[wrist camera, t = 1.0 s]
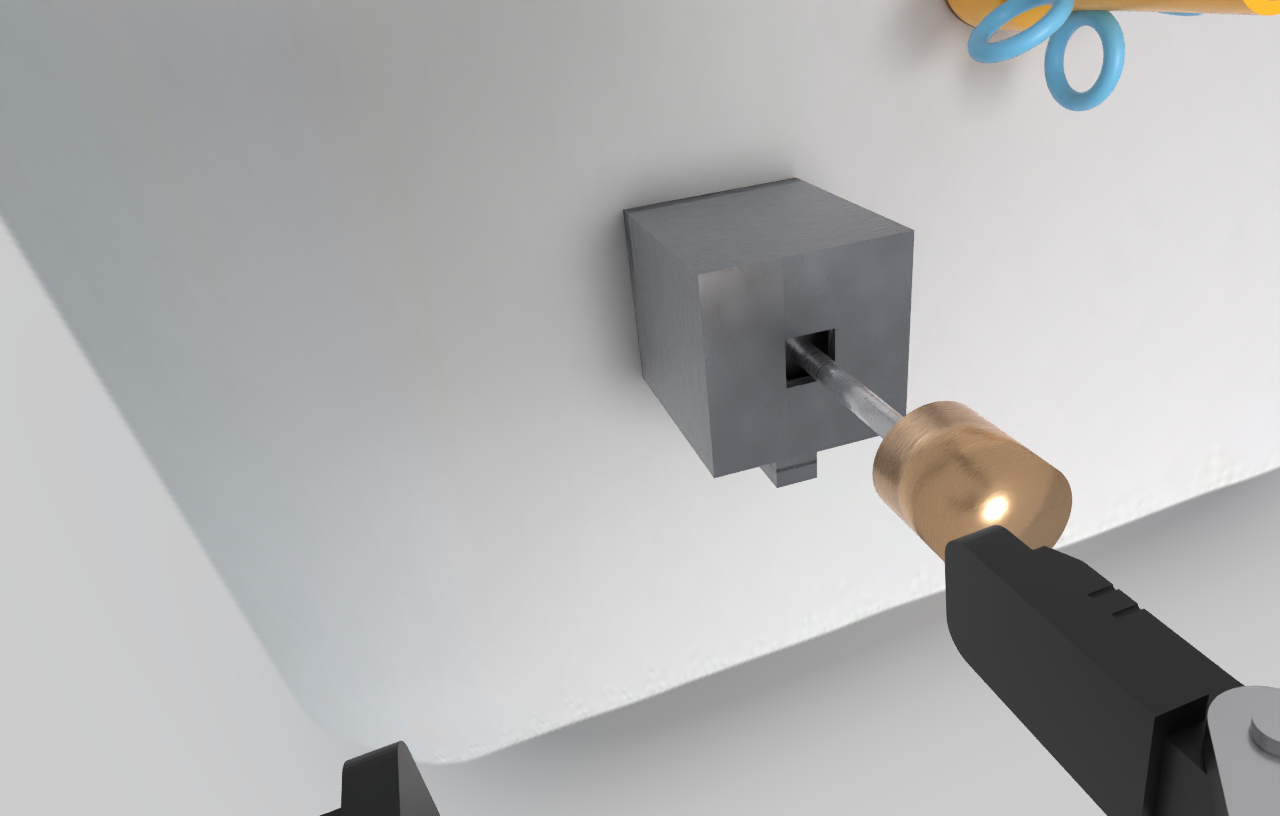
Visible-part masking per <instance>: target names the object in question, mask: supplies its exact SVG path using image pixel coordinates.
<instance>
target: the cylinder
mask: <svg viewBox="0 0 1280 816" xmlns="http://www.w3.org/2000/svg"><path fill="white" fill-rule="evenodd" d="M947 1H948V3H949V5H950V6H951V8H952V10H953V11H954V13H955V14H956V15H957V16H958V17H959V18H960V19H962V20H963V21H964V22H966V23H967V24H969V25H971V26H974V27H976V28H975V29H974V30H973V32H972V34H971V36H970V38H969V41H968V52H969V54H970V56H971V57H972V58H973V59H974V60H976V61H978V62H981V63H995V62H1000V61H1004V60H1008V59H1011V58H1013V57H1016V56H1018V55H1020V54H1023V53H1025V52H1027V51H1028V50H1030V49H1032V48H1034V47H1035V46H1037V45H1039V44H1040V43H1042V42H1043V41H1044V40H1046V39H1047V38H1048V37H1050V36H1051V37H1050V39H1049V42H1048V45H1047V49H1046V54H1045V64H1044V68H1045V78H1046V82H1047V85H1048V88H1049V91H1050V93H1051V94H1052V96H1053V98H1054V99H1055V100H1056V101H1057V102H1058V103H1059V104H1060V105H1061V106H1063V107H1064V108H1066V109H1069V110H1072V111H1085V110H1089V109H1092V108H1094V107H1096V106H1098V105H1099V104H1101V103H1102V102H1103V101H1104V100H1105V99H1106V98H1107V97H1108V96H1109V95H1110V94H1111V92H1112V91H1113V90H1114V88H1115V86H1116V84H1117V83H1118V80H1119V78H1120V75H1121V73H1122V69H1123V65H1124V58H1125V43H1124V37H1123V33H1122V30H1121V27H1120V25H1119V23H1118V22H1117V20H1116V19H1115V17H1114V16H1113V15H1112V14H1111V13H1110V12H1109V11H1144V12H1159V13H1164V14H1170V15H1179V16H1196V15H1201V14H1204V13H1211V14H1243V15H1276V14H1280V0H947ZM1084 25H1088V26H1091V27H1093V28H1094V29H1095V30H1096V31H1097V33H1098V34H1099V36H1100V38H1101V41H1102V45H1103V52H1104V58H1103V66H1102V70H1101V73H1100V75H1099V78H1098V80H1097V81H1096V83H1095V84H1094V85H1093V87H1092V88H1091V89H1089V90H1088V91H1086V92H1083V93H1080V92H1076V91H1075V90H1073V89H1072V88H1071V87H1070V85H1069V84H1068V82H1067V80H1066V77H1065V73H1064V66H1063V60H1064V52H1065V48H1066V45H1067V43H1068V40H1069V39H1070V37H1071V35H1072V34H1073V33H1074V31H1075V30H1076V29H1078V28H1079V27H1081V26H1084ZM997 30H1009V31H1023V32H1021V33H1019V34H1017V35H1015V36H1013V37H1011V38H1008V39H1006V40H1003V41H999V42H995V43H987V42H988V40H989V39H990V37H991V36H992V35H993V34H994V33H995V32H996V31H997Z"/></svg>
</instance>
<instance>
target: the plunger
mask: <svg viewBox="0 0 1280 816" xmlns="http://www.w3.org/2000/svg"><path fill="white" fill-rule="evenodd" d="M785 359H786V381H790V380H794V379H798V378H802V377H807V376H812V377H813V378H814V379H816V380H817V381H818V382H819V383H820V384H821V385H822V386H824V387H825V388H826V389H827V390H828V391H829V392H830V393H832V394H833V395H834V396H835V397H836V398H837V399H838V400H840V401H841V402H842V403H843V404H844V405H845V406H846V407H848V408H849V409H850V410H851V411H852V412H853V413H854V414H856V415H857V416H858V417H859V418H860V419H861V420H862V421H864V422H865V423H866V424H867V425H868V426H869V427H870V428H872V429H873V430H874V431H875V432H876V433H877V434H878V435H880V436H881V437H882V438H883V441H882V443H881V445H880V447H879V449H878V451H877V454H876V456H875V460H874V464H873V482H874V486H875V489H876V492H877V493H878V495H879V497H880V498H881V499H882V500H883V501H884V502H885V503H886V504H887V505H888V506H889V507H890V508H891V509H892V510H893V511H894V512H895V513H896V514H897V515H898V516H899V517H900V518H901V519H902V520H903V521H904V522H905V523H906V524H907V525H908V526H909V527H910V528H911V529H912V530H913V531H914V532H915V533H916V534H917V535H918V536H919V537H920V538H921V539H922V540H923V541H924V542H925V543H926V544H927V545H928V546H929V547H930V548H931V549H932V550H933V551H934V552H935V553H936V554H937V555H938V556H939V557H940V558H941V559H942V560H943V561H944V562H945V547H946V545H947V543H948V542H949V541H952V540H955V539H957V538H960V537H963V536H965V535H968V534H971V533H974V532H976V531H979V530H982V529H984V528H987V527H990V526H993V525H1000V526H1002V527H1004V528H1006V529H1007V530H1009V531H1010V532H1011V533H1012V534H1014V535H1015V536H1016V537H1017V538H1019V539H1020V540H1021V541H1022V542H1023V543H1025V544H1026V545H1027V546H1028V547H1030V548H1031V549H1032V550H1034V549H1037V548H1039V547H1042V546H1046V547H1049V548H1051V549H1052V548H1053V546H1054V545H1055V544H1056V542H1057V541H1058V539H1059V538H1060V536H1061V534H1062V533H1063V531H1064V529H1065V527H1066V525H1067V522H1068V519H1069V516H1070V512H1071V507H1072V493H1071V488H1070V485H1069V483H1068V481H1067V479H1066V478H1065V476H1064V475H1063V474H1062V473H1061V472H1060V471H1059V470H1057V469H1056V468H1054V467H1053V466H1051V465H1050V464H1049V463H1047V462H1046V461H1044V460H1043V459H1041V458H1040V457H1039V456H1037V455H1036V454H1034V453H1033V452H1031V451H1030V450H1029V449H1027V448H1026V447H1024V446H1023V445H1021V444H1020V443H1019V442H1017V441H1016V440H1014V439H1013V438H1011V437H1010V436H1009V435H1007V434H1006V433H1004V432H1003V431H1001V430H1000V429H999V428H997V427H996V426H994V425H993V424H991V423H990V422H989V421H987V420H986V419H984V418H983V417H981V416H980V415H979V414H977V413H976V412H974V411H973V410H971V409H970V408H968V407H967V406H965V405H963V404H961V403H957V402H952V401H939V402H934V403H930V404H927V405H924V406H922V407H919V408H917V409H915V410H914V411H912V412H910V413H909V414H907V415H906V416H905V417H903V416H902V415H900V414H899V413H898V412H897V411H895V410H894V409H893V408H892V407H890V406H889V405H888V404H887V403H885V402H884V401H883V400H882V399H880V398H879V397H878V396H877V395H875V394H874V393H873V392H872V391H870V390H869V389H868V388H867V387H865V386H864V385H863V384H862V383H860V382H859V381H858V380H857V379H855V378H854V377H853V376H852V375H850V374H849V373H848V372H847V371H845V370H844V369H843V368H842V367H840V366H839V365H838V364H837V363H835V362H834V361H833V360H832V359H830V358H829V357H828V330H825V331H820V332H816V333H812V334H807V335H803V336H798V337H794V338H789V339H785Z"/></svg>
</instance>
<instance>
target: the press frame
mask: <svg viewBox="0 0 1280 816" xmlns="http://www.w3.org/2000/svg"><path fill="white" fill-rule="evenodd" d="M623 213H624V221H625V229H626V238H627V246H628V254H629V263H630V271H631V279H632V288H633V296H634V304H635V313H636V321H637V329H638V338H639V346H640V354H641V363H642V371H643V378H644V380H645V381H646V382H647V384H648V385H649V387H650V388H651V389H652V391H653V392H654V394H655V395H656V397H657V398H658V399H659V401H660V402H661V404H662V405H663V406H664V408H665V409H666V411H667V412H668V413H669V415H670V416H671V418H672V419H673V421H674V422H675V423H676V425H677V426H678V428H679V429H680V430H681V432H682V433H683V435H684V436H685V438H686V439H687V440H688V442H689V443H690V445H691V446H692V447H693V449H694V450H695V452H696V453H697V454H698V456H699V457H700V459H701V460H702V462H703V463H704V464H705V466H706V467H707V469H708V470H709V471H710V473H711V474H712V476H713V477H714V478H716V477H720V476H724V475H728V474H732V473H736V472H740V471H744V470H748V469H751V468H755V467H759V466H760V468H761V469H762V470H763V471H764V473H765V474H766V475H767V476H768V477H769V479H770V480H771V481H772V482H773V484H774V485H775V486H776V487H777V488H779V487H782V486H786V485H790V484H794V483H798V482H801V481H805V480H809V479H813V478H817V452H818V451H822V450H825V449H829V448H833V447H837V446H841V445H845V444H849V443H853V442H857V441H861V440H864V439H868V438H872V437H876V436H880V435H878V434H877V433H876V432H875V431H874V430H873V429H872V428H870V427H869V426H868V425H867V424H866V423H865V422H864V421H862V420H861V419H860V418H859V417H858V416H857V415H856V414H854V413H853V412H852V411H851V410H850V409H849V408H848V407H846V406H845V405H844V404H843V403H842V402H841V401H840V400H838V399H837V398H836V397H835V396H834V395H833V394H832V393H830V392H829V391H828V390H827V389H826V388H825V387H824V386H822V385H821V384H820V383H819V382H818V381H817V380H816V379H814V378H813V377H812V376H807V377H802V378H798V379H794V380H790V381H786V359H785V339H789V338H794V337H798V336H803V335H807V334H812V333H816V332H820V331H825V330H828V357H829V358H830V359H832V360H833V361H834V362H835V363H837V364H838V365H839V366H840V367H842V368H843V369H844V370H845V371H847V372H848V373H849V374H850V375H852V376H853V377H854V378H855V379H857V380H858V381H859V382H860V383H862V384H863V385H864V386H865V387H867V388H868V389H869V390H870V391H872V392H873V393H874V394H875V395H877V396H878V397H879V398H880V399H882V400H883V401H884V402H885V403H887V404H888V405H889V406H890V407H892V408H893V409H894V410H895V411H897V412H898V413H899V414H900V415H902V416H903V417H905V416H906V402H907V380H908V357H909V335H910V313H911V290H912V268H913V246H914V230H912V229H910V228H908V227H906V226H903V225H901V224H899V223H897V222H894V221H892V220H890V219H888V218H885V217H883V216H881V215H879V214H876V213H874V212H872V211H870V210H867V209H865V208H863V207H861V206H858V205H856V204H854V203H852V202H849V201H847V200H845V199H843V198H840V197H838V196H836V195H834V194H831V193H829V192H827V191H825V190H822V189H820V188H818V187H816V186H813V185H811V184H809V183H807V182H804V181H802V180H800V179H798V178H792V179H787V180H781V181H776V182H771V183H765V184H760V185H755V186H749V187H744V188H738V189H733V190H728V191H722V192H717V193H712V194H706V195H701V196H695V197H690V198H685V199H679V200H674V201H669V202H663V203H658V204H652V205H647V206H642V207H636V208H631V209H626V210H623Z"/></svg>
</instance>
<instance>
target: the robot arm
mask: <svg viewBox="0 0 1280 816" xmlns="http://www.w3.org/2000/svg"><path fill="white" fill-rule="evenodd" d="M945 580H946V611H947V623H948V628H949V631H950V634H951V637H952V639H953V641H954V643H955V645H956V647H957V649H958V651H959V652H960V654H961V655H962V657H963V658H964V659H965V661H966V662H967V663H968V664H969V665H970V666H971V667H972V668H973V669H974V671H975V672H976V673H977V674H978V675H979V676H980V677H981V678H982V679H983V680H984V682H985V683H986V684H987V685H988V686H989V687H990V688H991V689H992V690H993V691H994V692H995V694H996V695H997V696H998V697H999V698H1000V699H1001V700H1002V701H1003V702H1004V703H1005V704H1006V706H1007V707H1008V708H1009V709H1010V710H1011V711H1012V712H1013V713H1014V714H1015V715H1016V716H1017V718H1019V720H1020V721H1021V722H1022V723H1023V724H1024V725H1025V726H1026V727H1027V728H1028V730H1029V731H1030V732H1031V733H1032V734H1033V735H1034V736H1035V737H1036V738H1037V739H1038V740H1039V742H1040V743H1041V744H1042V745H1043V746H1044V747H1045V748H1046V749H1047V750H1048V751H1049V753H1050V754H1051V755H1052V756H1053V757H1054V758H1055V759H1056V760H1057V761H1058V762H1059V763H1060V765H1062V767H1064V769H1065V770H1066V771H1067V772H1068V773H1069V774H1070V775H1071V776H1072V778H1073V779H1074V780H1075V781H1076V782H1077V783H1078V784H1079V785H1080V786H1081V787H1082V788H1083V790H1085V792H1086V793H1087V794H1088V795H1089V796H1090V797H1091V798H1092V799H1093V801H1094V802H1095V803H1096V804H1097V805H1098V806H1099V807H1100V808H1101V809H1102V810H1103V811H1104V813H1105V814H1106V815H1107V816H1280V689H1279V688H1273V687H1266V686H1244V685H1243V684H1241V683H1240V682H1239V681H1237V680H1236V679H1234V678H1233V677H1232V676H1231V675H1229V674H1228V673H1226V672H1225V671H1224V670H1222V669H1221V668H1220V667H1219V666H1218V665H1216V664H1215V663H1214V662H1212V661H1211V660H1210V659H1208V658H1207V657H1206V656H1205V655H1203V654H1202V653H1201V652H1199V651H1198V650H1197V649H1195V648H1194V647H1193V646H1192V645H1190V644H1189V643H1188V642H1187V641H1185V640H1184V639H1183V638H1181V637H1180V636H1179V635H1178V634H1176V633H1175V632H1173V631H1172V630H1171V629H1170V628H1168V627H1167V626H1166V625H1164V624H1163V623H1162V622H1161V621H1159V620H1158V619H1157V618H1156V617H1154V616H1153V615H1152V614H1150V613H1149V612H1148V611H1146V610H1145V609H1142V610H1141V609H1140V608H1139V607H1138V604H1137V603H1136V602H1135V601H1133V600H1132V599H1131V598H1130V597H1128V596H1127V595H1126V594H1124V593H1123V592H1122V591H1120V590H1119V589H1118V590H1115V589H1114V587H1113V584H1112V583H1110V582H1109V581H1108V580H1106V579H1105V578H1104V577H1102V576H1101V575H1100V574H1099V573H1097V572H1096V571H1095V570H1093V569H1092V568H1091V567H1090V566H1088V565H1087V564H1086V563H1084V562H1083V561H1081V560H1078V559H1076V558H1073V557H1071V556H1069V555H1066V554H1064V553H1061V552H1059V551H1056V550H1054V549H1051V548H1049V547H1046V546H1042V547H1039V548H1037V549H1034V550H1032V549H1031V548H1030V547H1028V546H1027V545H1026V544H1025V543H1023V542H1022V541H1021V540H1020V539H1019V538H1017V537H1016V536H1015V535H1014V534H1012V533H1011V532H1010V531H1009V530H1007V529H1006V528H1004V527H1002V526H1000V525H993V526H990V527H987V528H984V529H982V530H979V531H976V532H974V533H971V534H968V535H965V536H963V537H960V538H957V539H955V540H952V541H949V542H948V543H947V545H946V547H945ZM321 816H440V815H439V812H438V810H437V808H436V806H435V804H434V801H433V799H432V797H431V795H430V793H429V791H428V789H427V787H426V785H425V783H424V781H423V778H422V776H421V774H420V772H419V770H418V768H417V766H416V764H415V762H414V760H413V757H412V755H411V753H410V751H409V749H408V747H407V746H406V744H405V743H404V742H403V741H399V742H396V743H393V744H391V745H388V746H385V747H383V748H380V749H377V750H374V751H372V752H369V753H366V754H363V755H361V756H358V757H356V758H353V759H350V760H347V761H346V762H345V763H344V766H343V772H342V797H341V808H339V809H336V810H334V811H331V812H329V813H326V814H323V815H321Z"/></svg>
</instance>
